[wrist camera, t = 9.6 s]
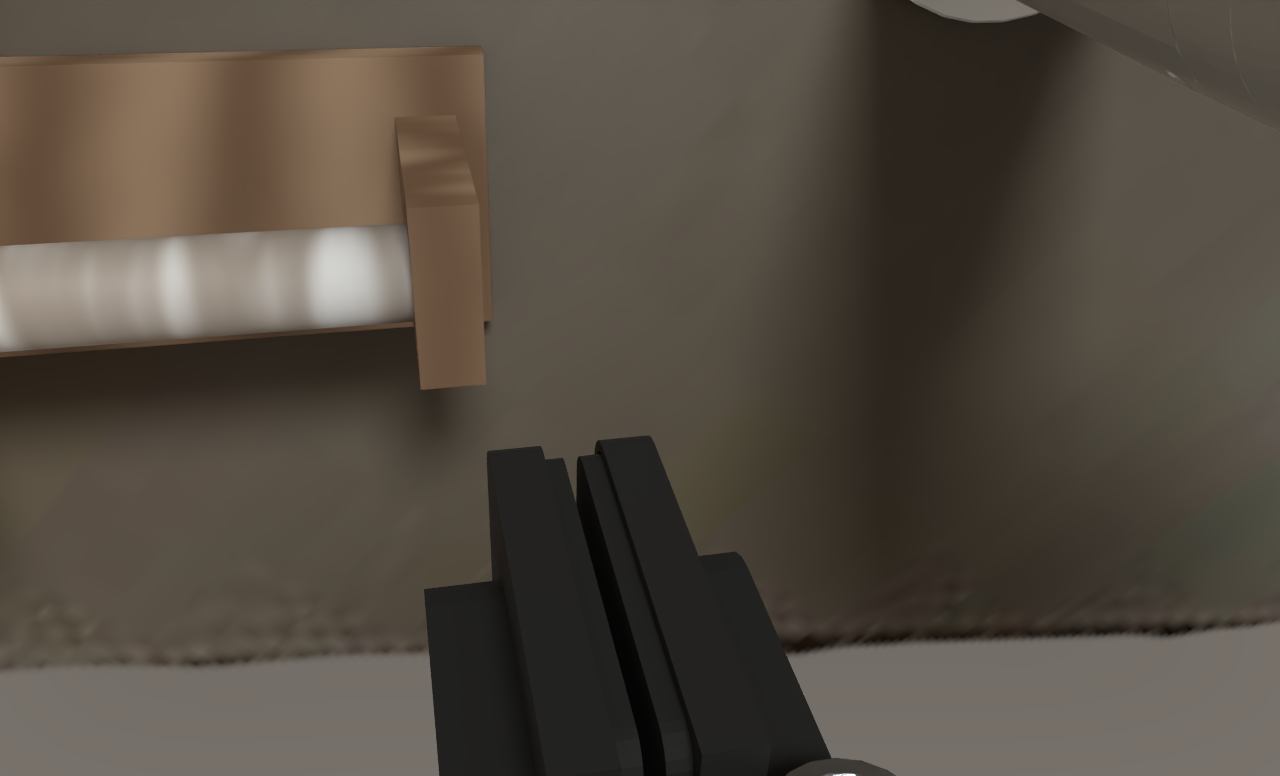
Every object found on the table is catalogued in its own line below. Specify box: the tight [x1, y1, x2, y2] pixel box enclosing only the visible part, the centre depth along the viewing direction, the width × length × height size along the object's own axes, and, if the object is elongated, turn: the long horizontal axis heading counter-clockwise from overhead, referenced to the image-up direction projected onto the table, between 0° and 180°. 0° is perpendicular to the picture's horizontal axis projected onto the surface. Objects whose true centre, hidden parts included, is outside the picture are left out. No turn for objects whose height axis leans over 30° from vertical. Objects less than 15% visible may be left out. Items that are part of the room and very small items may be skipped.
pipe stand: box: [0, 46, 493, 390], centre depth 34 cm, size 28×10×8 cm, turn 88°
